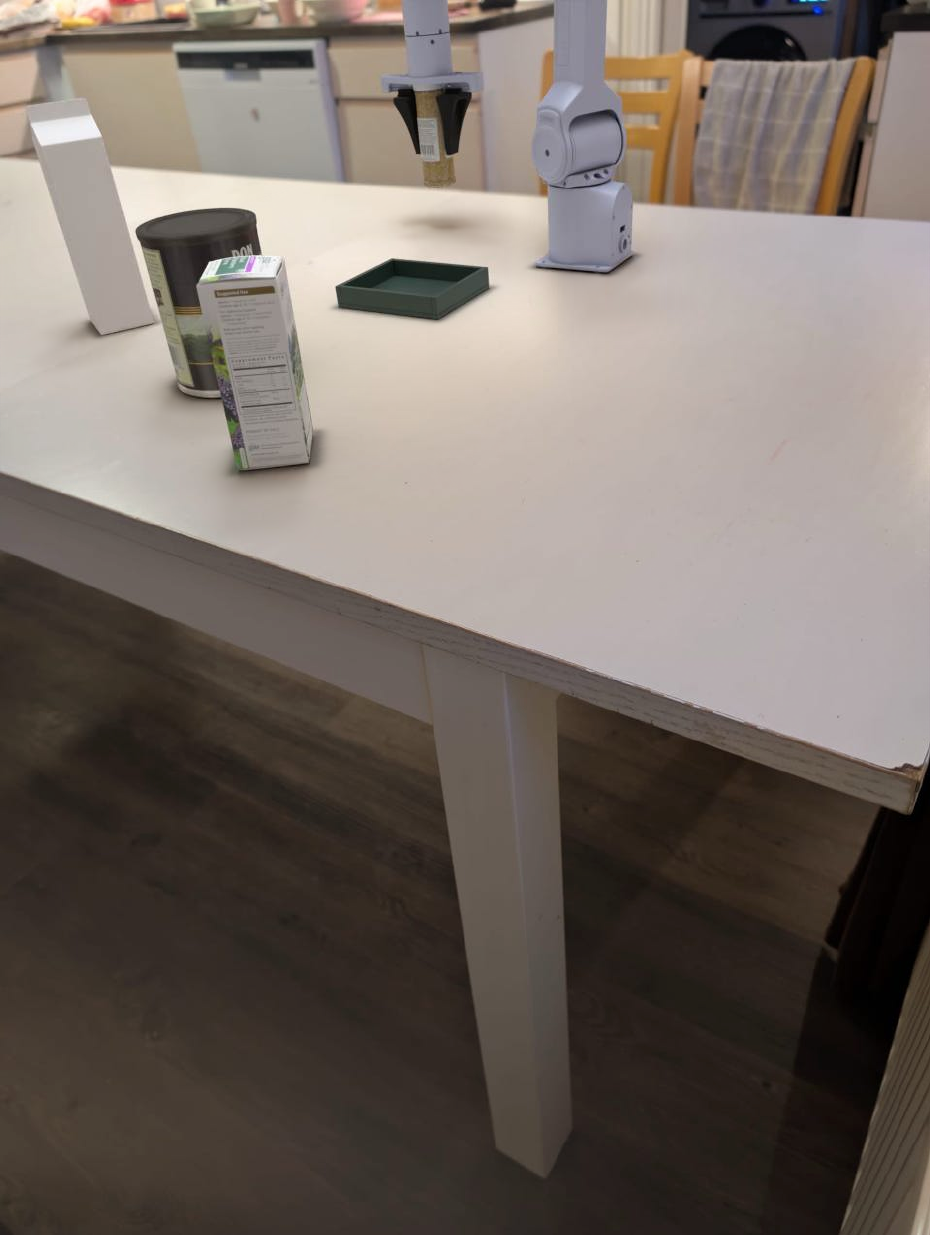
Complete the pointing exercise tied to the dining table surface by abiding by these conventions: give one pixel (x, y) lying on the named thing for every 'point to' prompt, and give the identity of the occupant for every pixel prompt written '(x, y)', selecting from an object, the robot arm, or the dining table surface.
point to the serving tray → (413, 288)
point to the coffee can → (192, 281)
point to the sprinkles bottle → (432, 138)
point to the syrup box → (257, 360)
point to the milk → (89, 214)
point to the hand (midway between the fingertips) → (437, 153)
